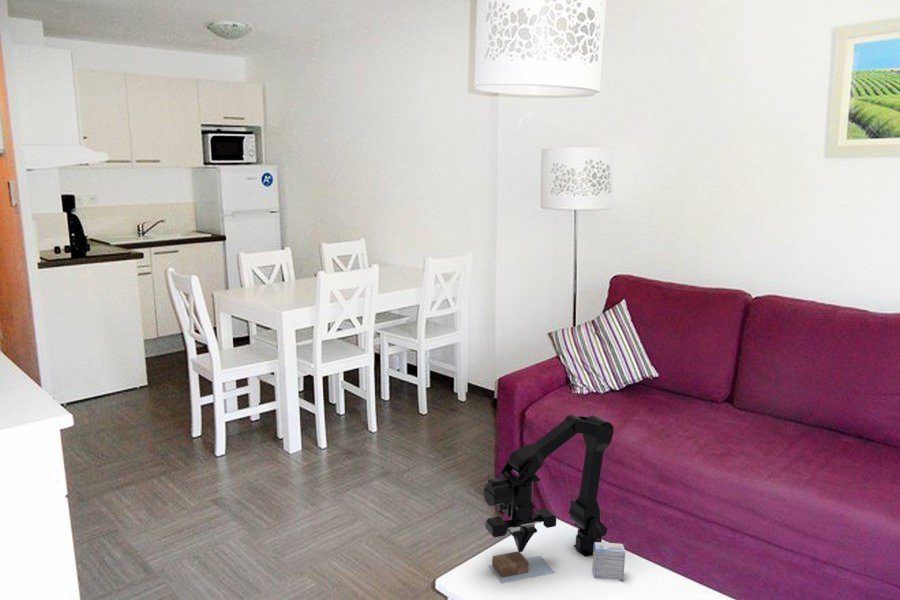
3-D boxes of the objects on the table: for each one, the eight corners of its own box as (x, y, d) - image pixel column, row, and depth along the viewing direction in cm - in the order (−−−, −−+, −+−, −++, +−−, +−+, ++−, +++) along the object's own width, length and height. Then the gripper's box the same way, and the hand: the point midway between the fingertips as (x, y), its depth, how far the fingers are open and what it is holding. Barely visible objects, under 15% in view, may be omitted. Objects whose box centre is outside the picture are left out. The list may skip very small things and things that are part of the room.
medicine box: (621, 572, 189) (623, 543, 188) (623, 582, 185) (625, 551, 183) (591, 570, 190) (593, 541, 189) (593, 579, 186) (595, 549, 184)
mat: (540, 557, 196) (540, 555, 196) (555, 573, 188) (555, 572, 188) (487, 566, 191) (487, 565, 191) (501, 584, 183) (501, 583, 182)
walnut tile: (519, 551, 193) (492, 556, 190) (528, 562, 187) (501, 567, 184) (518, 561, 193) (492, 566, 190) (528, 572, 188) (501, 577, 185)
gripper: (539, 480, 197) (537, 531, 200) (478, 490, 191) (477, 542, 193) (558, 497, 187) (556, 551, 189) (494, 508, 180) (493, 563, 183)
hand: (520, 551), depth 189 cm, fingers closed
